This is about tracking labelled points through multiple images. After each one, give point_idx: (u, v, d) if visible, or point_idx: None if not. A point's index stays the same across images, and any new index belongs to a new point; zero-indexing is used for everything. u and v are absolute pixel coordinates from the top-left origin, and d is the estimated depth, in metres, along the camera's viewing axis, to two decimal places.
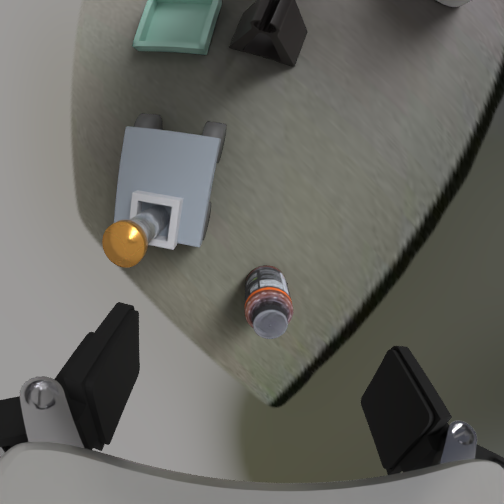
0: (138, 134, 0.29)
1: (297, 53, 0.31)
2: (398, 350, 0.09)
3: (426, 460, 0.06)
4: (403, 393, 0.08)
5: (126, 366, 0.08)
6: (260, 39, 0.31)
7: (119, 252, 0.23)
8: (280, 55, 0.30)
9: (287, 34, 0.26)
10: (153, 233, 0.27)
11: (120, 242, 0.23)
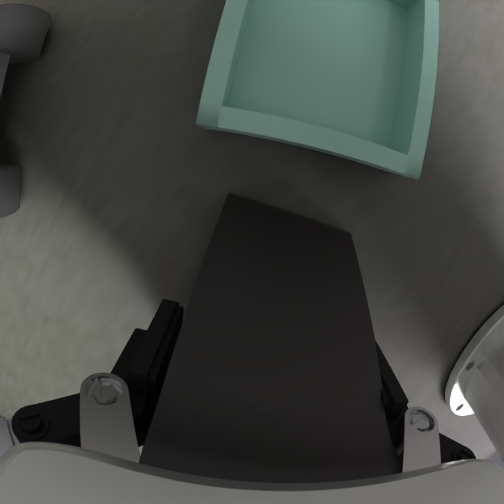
0: None
1: None
2: None
3: None
4: None
5: None
6: None
7: None
8: None
9: None
10: None
11: None
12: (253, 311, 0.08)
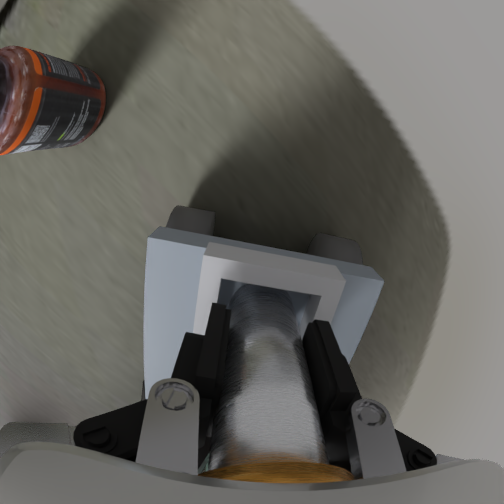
0: None
1: (142, 398, 0.24)
2: (316, 323, 0.10)
3: (330, 437, 0.07)
4: (314, 365, 0.09)
5: None
6: None
7: None
8: None
9: None
10: None
11: None
12: (205, 460, 0.20)
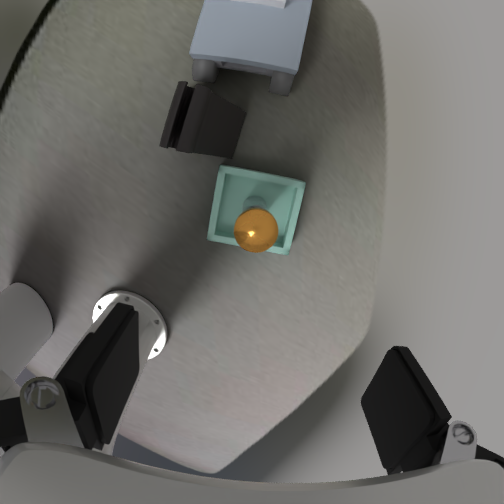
0: (282, 59, 0.24)
1: None
2: (398, 350, 0.09)
3: (426, 460, 0.06)
4: (403, 393, 0.08)
5: (126, 366, 0.08)
6: None
7: (260, 225, 0.26)
8: None
9: None
10: None
11: (257, 234, 0.27)
12: (220, 116, 0.27)
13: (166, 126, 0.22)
